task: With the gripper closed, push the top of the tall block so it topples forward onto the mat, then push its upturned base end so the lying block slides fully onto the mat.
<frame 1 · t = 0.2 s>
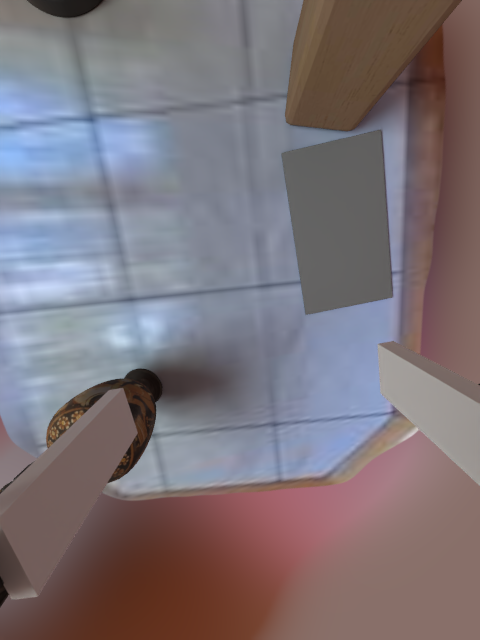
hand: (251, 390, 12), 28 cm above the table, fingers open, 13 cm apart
vase: (140, 388, 43), on the table
mat: (339, 230, 37), on the table
block: (323, 90, 33), on the table
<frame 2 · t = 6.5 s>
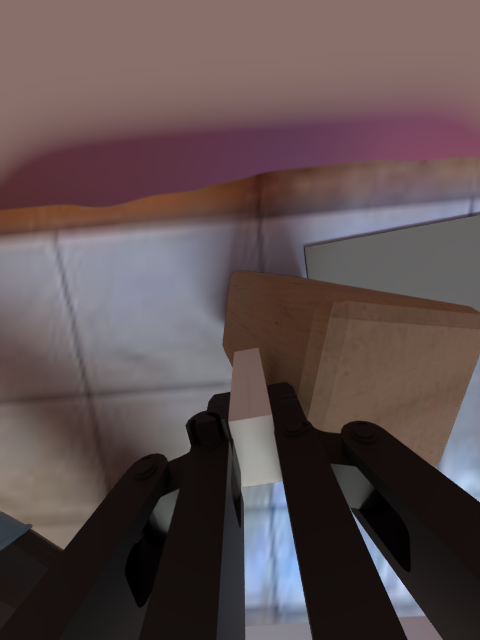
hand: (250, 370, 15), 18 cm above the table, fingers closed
mat: (404, 286, 31), on the table
block: (262, 313, 31), point 1 cm above the table, touching gripper
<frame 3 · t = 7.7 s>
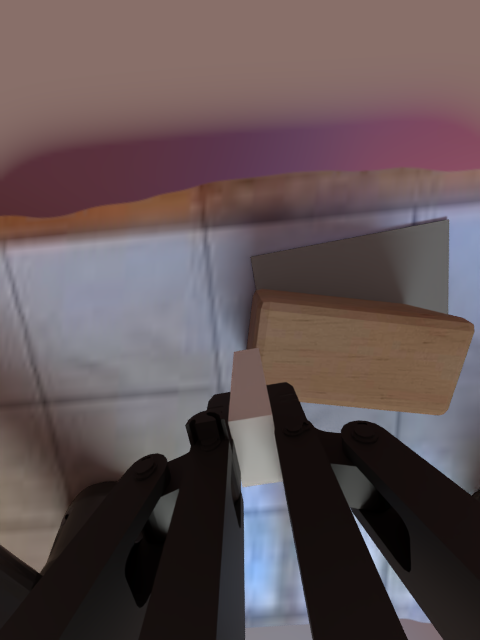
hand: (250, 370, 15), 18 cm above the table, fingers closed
mat: (351, 294, 31), on the table
block: (248, 335, 27), point 5 cm above the table, touching mat
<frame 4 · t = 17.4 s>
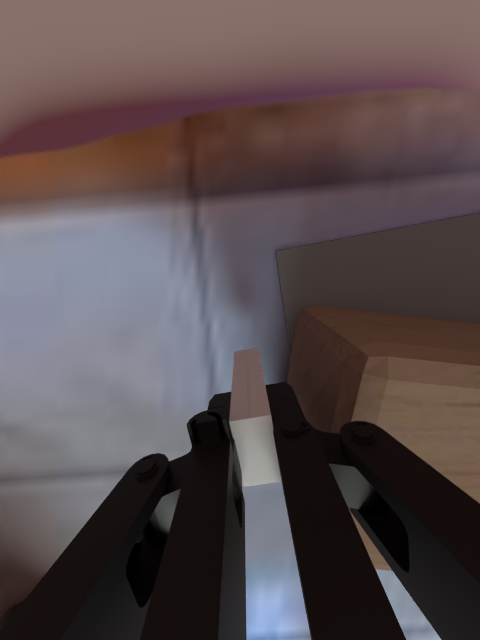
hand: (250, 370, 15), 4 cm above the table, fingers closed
mat: (448, 317, 18), on the table
block: (298, 401, 14), point 5 cm above the table, touching gripper
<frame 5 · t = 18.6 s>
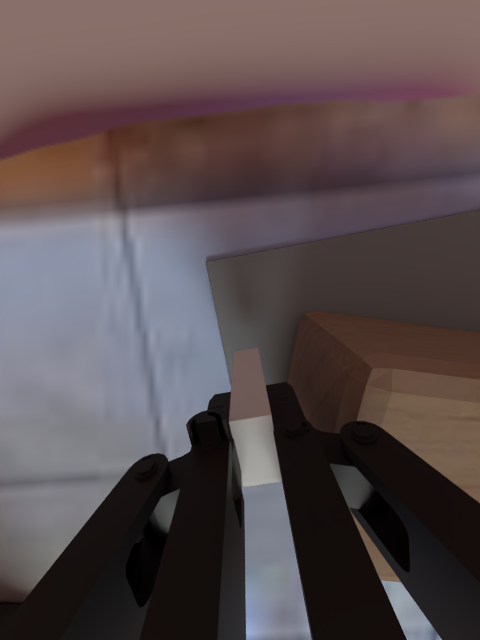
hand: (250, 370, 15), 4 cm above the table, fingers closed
mat: (382, 326, 18), on the table
block: (298, 407, 14), point 5 cm above the table, touching gripper, mat
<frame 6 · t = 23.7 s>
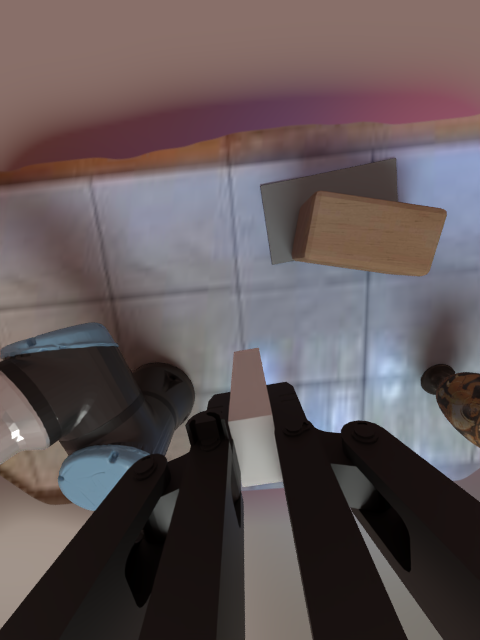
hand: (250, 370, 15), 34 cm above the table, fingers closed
vase: (437, 381, 52), on the table
mat: (330, 214, 45), on the table
block: (299, 229, 40), point 5 cm above the table, touching mat
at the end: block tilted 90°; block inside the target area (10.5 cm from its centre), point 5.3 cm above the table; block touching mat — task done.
